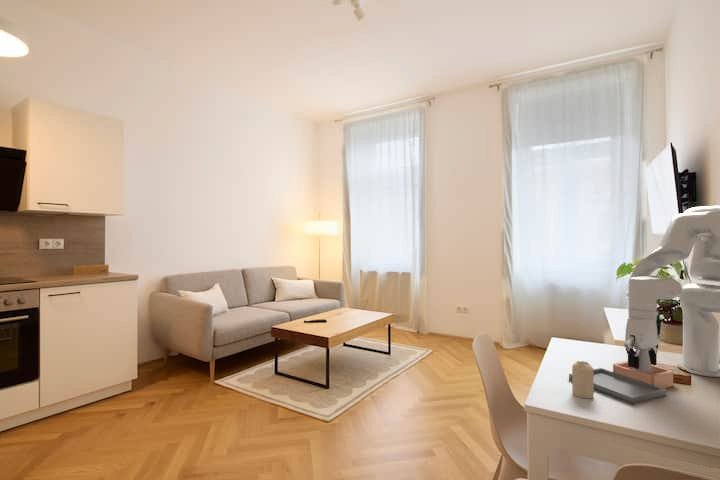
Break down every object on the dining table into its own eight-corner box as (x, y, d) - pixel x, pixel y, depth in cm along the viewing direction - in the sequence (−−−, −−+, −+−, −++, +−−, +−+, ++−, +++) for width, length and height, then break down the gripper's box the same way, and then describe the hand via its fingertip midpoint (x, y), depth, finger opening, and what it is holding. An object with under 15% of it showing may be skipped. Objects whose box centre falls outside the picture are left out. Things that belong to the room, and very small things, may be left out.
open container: (634, 372, 129) (634, 359, 129) (675, 385, 117) (675, 371, 117) (611, 377, 124) (611, 364, 124) (651, 391, 112) (651, 376, 112)
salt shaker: (657, 385, 117) (657, 345, 117) (637, 383, 118) (637, 344, 118) (647, 378, 123) (647, 340, 123) (628, 377, 124) (628, 339, 124)
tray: (600, 373, 128) (600, 367, 128) (666, 395, 109) (666, 389, 109) (569, 379, 122) (569, 373, 122) (632, 404, 103) (632, 397, 103)
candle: (586, 400, 106) (586, 366, 106) (568, 393, 111) (568, 361, 111) (597, 396, 108) (597, 363, 109) (579, 389, 113) (579, 358, 113)
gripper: (646, 310, 127) (645, 359, 127) (613, 313, 121) (613, 365, 121) (671, 314, 120) (670, 366, 120) (638, 318, 114) (638, 373, 114)
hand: (642, 365), depth 121 cm, fingers open, 8 cm apart
